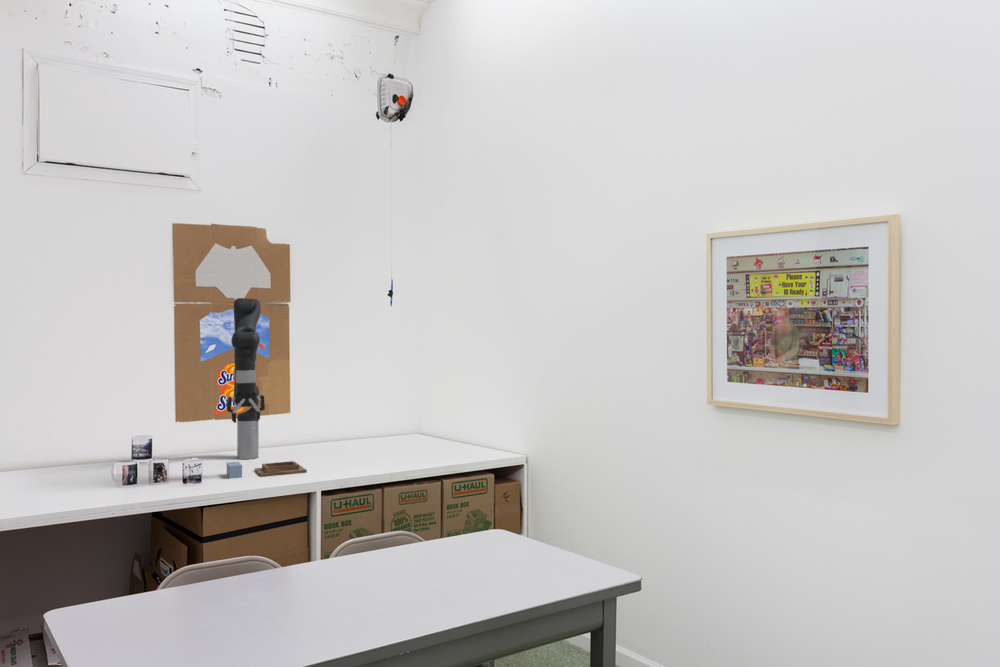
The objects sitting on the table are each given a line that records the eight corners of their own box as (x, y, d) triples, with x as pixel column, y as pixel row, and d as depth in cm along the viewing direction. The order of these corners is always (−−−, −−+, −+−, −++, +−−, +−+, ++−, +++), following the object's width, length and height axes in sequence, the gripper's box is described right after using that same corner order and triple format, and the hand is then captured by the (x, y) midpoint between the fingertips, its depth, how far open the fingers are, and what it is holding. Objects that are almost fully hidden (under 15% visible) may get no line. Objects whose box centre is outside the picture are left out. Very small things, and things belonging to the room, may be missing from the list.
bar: (226, 475, 284) (226, 462, 284) (238, 473, 286) (238, 461, 286) (230, 479, 276) (229, 466, 276) (242, 477, 278) (242, 465, 278)
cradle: (254, 470, 292) (254, 463, 292) (298, 466, 300) (298, 459, 300) (260, 476, 279) (260, 469, 279) (306, 472, 288) (306, 465, 288)
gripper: (262, 380, 289) (262, 419, 289) (225, 381, 282) (225, 422, 282) (266, 381, 283) (266, 421, 283) (228, 382, 276) (228, 424, 275)
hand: (245, 421), depth 282 cm, fingers open, 8 cm apart
